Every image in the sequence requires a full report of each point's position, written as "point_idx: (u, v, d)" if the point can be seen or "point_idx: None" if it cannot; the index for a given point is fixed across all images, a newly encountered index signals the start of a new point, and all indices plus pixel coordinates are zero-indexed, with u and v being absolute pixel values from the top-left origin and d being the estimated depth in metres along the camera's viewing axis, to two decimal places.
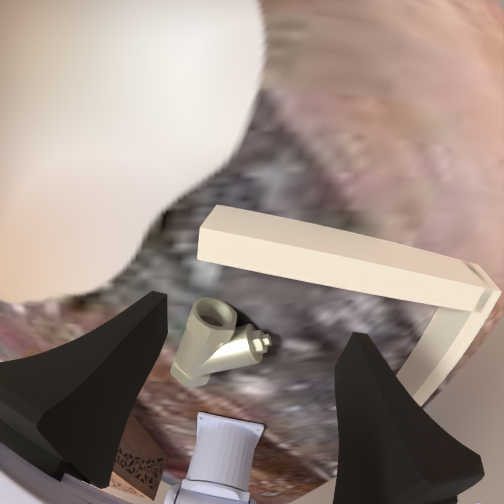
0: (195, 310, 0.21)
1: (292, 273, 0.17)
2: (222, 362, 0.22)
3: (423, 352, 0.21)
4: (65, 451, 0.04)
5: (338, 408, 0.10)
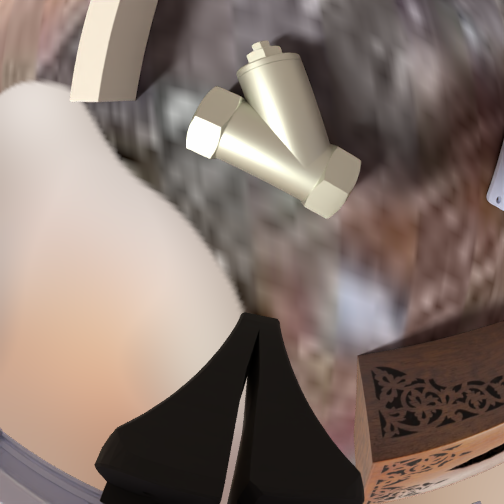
0: None
1: (113, 3, 0.09)
2: (278, 108, 0.12)
3: None
4: None
5: (246, 395, 0.10)
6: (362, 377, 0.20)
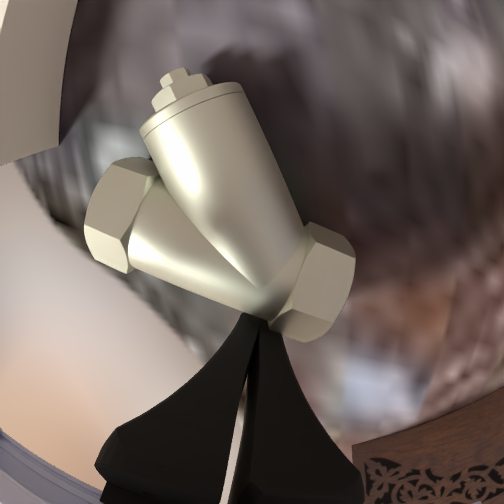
0: None
1: None
2: (202, 196, 0.07)
3: None
4: None
5: (246, 395, 0.10)
6: None
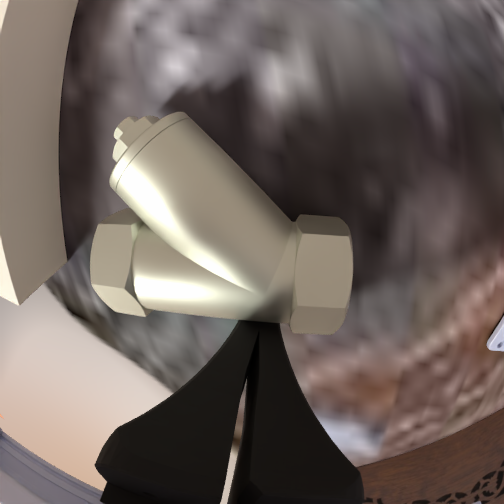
0: None
1: None
2: (178, 227, 0.08)
3: None
4: None
5: (246, 395, 0.10)
6: None
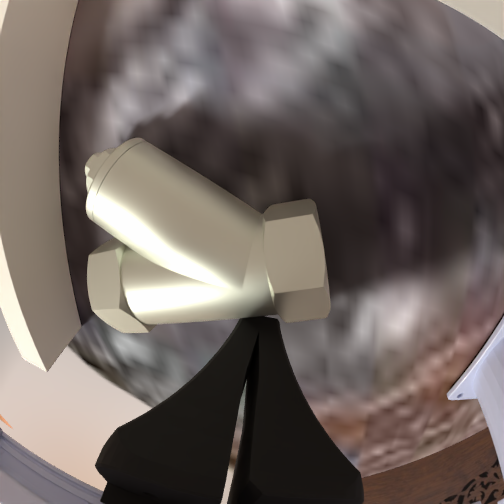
0: None
1: (10, 287, 0.09)
2: (149, 241, 0.08)
3: None
4: None
5: (246, 395, 0.10)
6: None
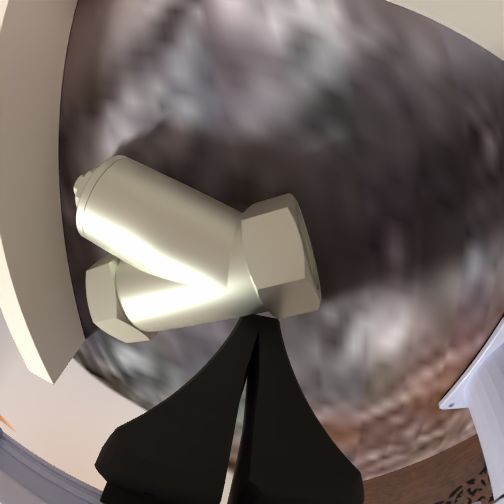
0: None
1: (16, 308, 0.10)
2: (136, 251, 0.08)
3: None
4: None
5: (246, 395, 0.10)
6: None
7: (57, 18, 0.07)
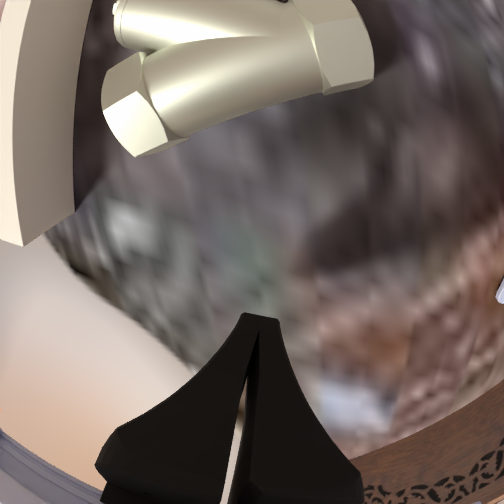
0: None
1: (8, 115, 0.07)
2: (180, 15, 0.06)
3: None
4: None
5: (246, 395, 0.10)
6: None
7: None
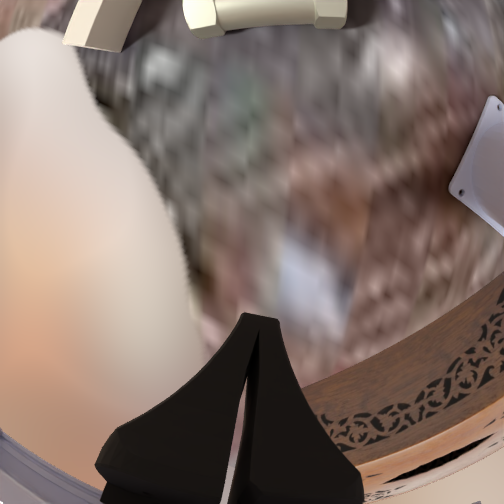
0: None
1: None
2: None
3: None
4: None
5: (246, 395, 0.10)
6: None
7: None
